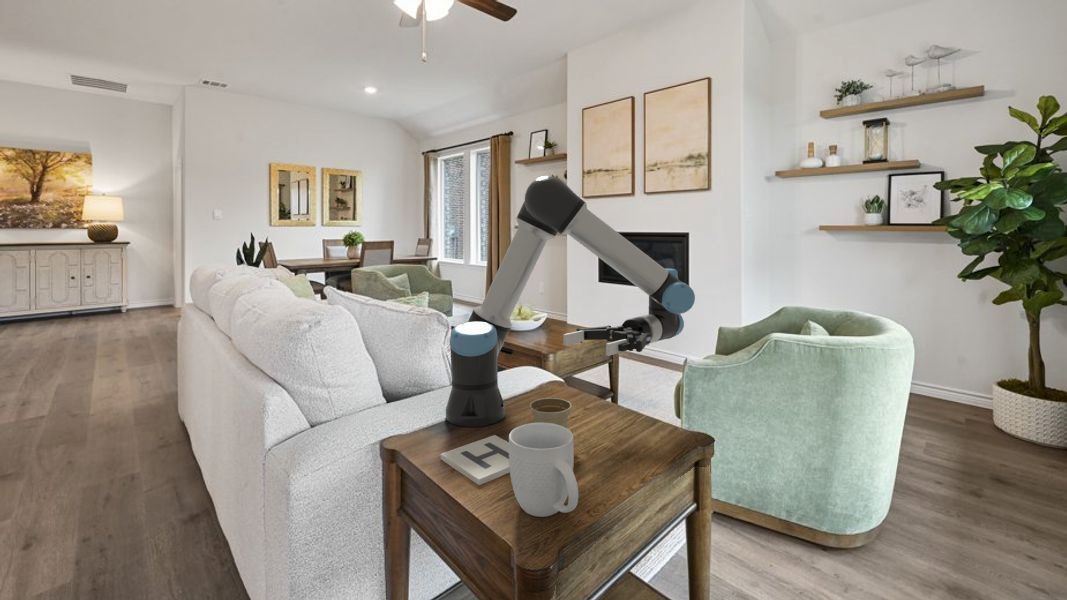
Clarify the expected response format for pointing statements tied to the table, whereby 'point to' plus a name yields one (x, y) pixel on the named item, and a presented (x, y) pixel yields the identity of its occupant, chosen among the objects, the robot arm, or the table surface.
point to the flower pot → (551, 411)
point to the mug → (543, 468)
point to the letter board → (480, 459)
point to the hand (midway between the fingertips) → (584, 344)
